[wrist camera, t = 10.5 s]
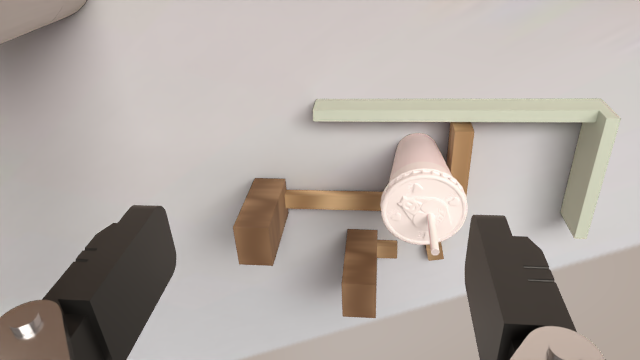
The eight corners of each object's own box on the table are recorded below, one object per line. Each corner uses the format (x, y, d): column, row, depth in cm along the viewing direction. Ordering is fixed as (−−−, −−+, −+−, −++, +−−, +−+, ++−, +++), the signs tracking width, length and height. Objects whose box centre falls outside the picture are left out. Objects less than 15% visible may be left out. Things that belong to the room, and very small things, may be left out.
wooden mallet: (259, 212, 50) (239, 264, 43) (246, 116, 44) (221, 158, 38) (457, 217, 47) (469, 273, 41) (468, 116, 42) (484, 161, 35)
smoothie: (428, 192, 47) (442, 297, 35) (368, 163, 46) (362, 261, 34) (467, 139, 43) (498, 235, 31) (404, 106, 43) (411, 193, 31)
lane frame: (322, 206, 49) (317, 230, 45) (316, 99, 43) (310, 117, 40) (571, 212, 46) (586, 238, 43) (601, 98, 40) (620, 118, 37)
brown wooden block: (348, 259, 52) (342, 316, 45) (347, 229, 50) (341, 283, 43) (441, 263, 51) (450, 322, 44) (444, 232, 49) (454, 288, 42)
